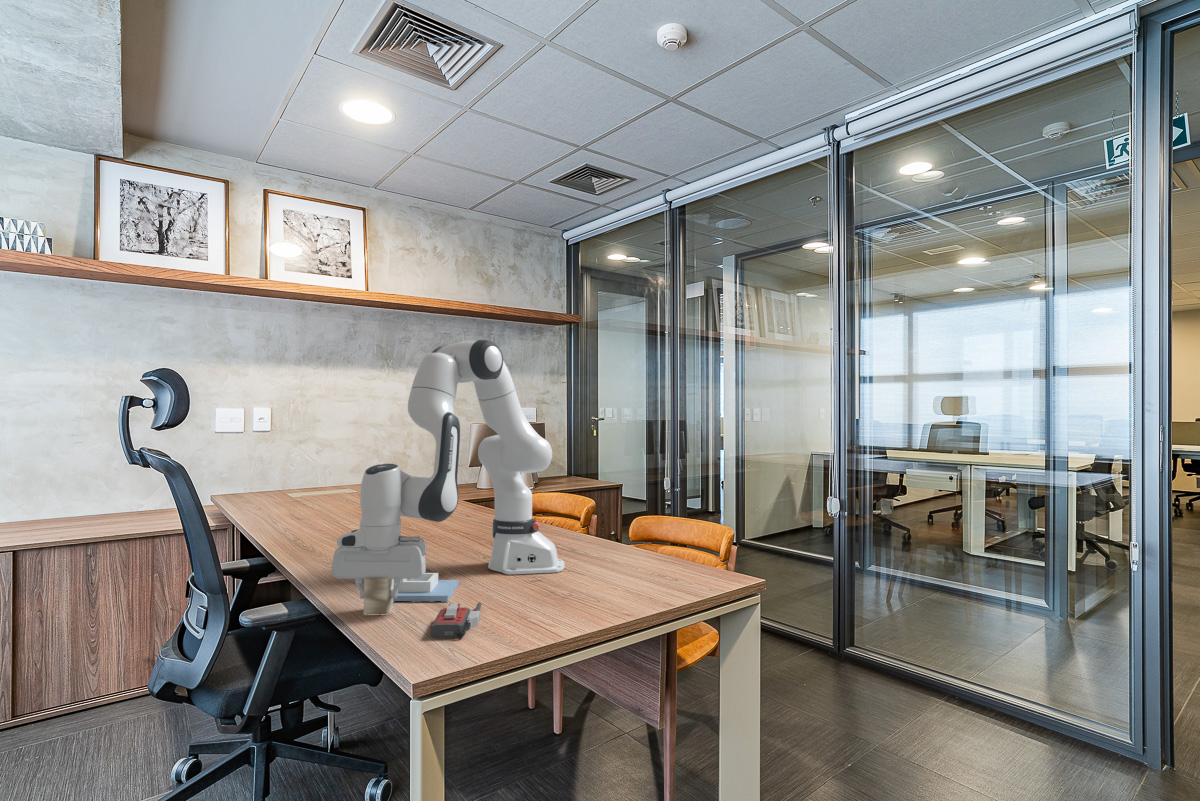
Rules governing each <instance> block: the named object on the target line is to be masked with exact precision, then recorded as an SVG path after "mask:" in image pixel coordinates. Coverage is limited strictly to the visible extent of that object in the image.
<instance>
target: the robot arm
mask: <svg viewBox="0 0 1200 801" xmlns="http://www.w3.org/2000/svg"><path fill="white" fill-rule="evenodd" d="M470 382H472V383H473V384H474V385H473V386H474V389H475V393H476V397H477V400H478V403H479V406H480V410H481V412H482V416H483V420H484V423H485V424H486V425H487V426H488V427H489V428H490V429H492V430H493V431H494V432H495V433H496V434H495V435H491V436H487V437H484V438H483V440H482V441H481V442H480V443H479V445H478V449H477V456H478V460H479V462H480V464H481V465H482V466H483V467H484V469H485V470H486V471H487V473H488V475H489V478H490V481H491V484H492V488H493V496H494V517H493V519H492V525H491V526H492V529H491V530H492V533H491V534H492V538H493V539H492V540H493V541H492V547H491V548H492V549H491V554H490V559H489V562H488V565H487V568H488V569H489V570H492V571H495V572H499V573H502V574H505V575H527V574H550V573H559V572H561V571H563V570H564V569H565V561H564V560H563V559H562V558H559V557H558V551H557V547H556V545H555V543H554V542H553V541H552V540H550V539H549V538H548V537H546V536H544V534H543V533H541V532H540V531H539V529H540V526H541V525H540V522H539V520H538V519H535V518H533V492H532V490H531V489H530V487H529V486H527V485H526V484H525V482H524V480H523V477H522V475H521V474H522V473H523V474H533V473H538V472H544V471H545V470H547V469H548V467H549V466H550V464H551V462H552V459H553V450H552V445H551V443H550V442H549V441H548V440H546V439H545V438H544V437H542V436H541V435H540V434H538V432H537V431H536V430H535V429H534V428H533V426H532V425H531V424H530V422H529V420H528V418H527V417H526V415H525V413H524V412H523V409H522V406H521V403H520V401H519V396H518V394H517V393H518V392H517V390H516V387H515V384H514V381H513V378H512V375H511V373H510V370H509V368H508V366H507V365H506V362H505V361H504V356H503V353H502V351H501V348H500V347H499V346H498V345H497V344H496V343H495V342H494V341H492V340H489V339H488V340H487V339H479V340H478V339H477V340H462V341H459V342H453V343H451V344H443V345H440V346H438V347H436V348H435V349H433V351H432V352H431V353H428V354H426V355H425V356H424V357H423V359H422V360H421V362H420V364H419V366H418V368H417V371H416V373H415V375H414V378H413V382H412V385H411V389H410V392H409V396H408V400H407V412H408V415H409V417H410V418H411V420H412V422H414V423H415V425H417V426H419V428H422V429H423V430H426V431H427V432H429V433H431V435H432V436H433V438H434V440H435V454H434V466H433V473H432V475H431V476H430V477H423V476H413V475H411V474H408V473H406V472H404V471H402V470H401V469H400V467H399V465H398V464H395V463H382V464H379V463H378V464H374V465H372V466H369V467H368V468H367V469H366V470H364V473H363V474H362V475H363V476H362V479H361V480H362V481H361V485H360V495H359V496H360V497H359V498H360V500H359V501H360V502H359V503H360V509H361V518H360V520H359V529H354V530H351V531H348V532H346V533H344V534H341V535H340V536H339V537H338V538H337V539H336V545H337V546H338V547H337V548H336V549H335V550H334V553H333V557H332V562H331V564H332V565H331V574H332V577H333V578H334V579H337V580H338V579H347V580H348V579H351V580H353V579H354V581H355V582H354V584H355V586H356V587H357V589H358V591H359V599H364V579H365V578H388V579H394V583H397V584H396V586H395V588H394V589H391V590H390V591H389V598H397V596H398V588H399V587H400V585H401V583H402V582H403V579H419V578H421V577H422V576H423V575H424V573H426V570H427V569H426V568H427V567H426V566H427V565H426V556H425V555H426V553H427V542H426V540H425V539H424V538H421V537H420V536H409V535H408V536H407V535H406V536H404V535H403V536H402V534H401V533H402V520H401V516H402V517H409V518H416V519H423V520H427V521H431V522H434V523H435V522H436V523H440V522H443V521H445V520H447V519H448V518H449V517H450V516H451V515H453V513H454V512H455V510H456V509H457V507H458V503H459V489H458V488H459V486H458V472H459V471H458V470H459V456H460V455H459V454H460V446H461V445H460V443H461V424H460V421H459V418H458V417H457V416H456V415H455V401H456V395H457V390H458V385H459V383H460V384H462V383H470Z"/></svg>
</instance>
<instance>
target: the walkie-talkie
mask: <svg viewBox="0 0 1200 801" xmlns="http://www.w3.org/2000/svg"><path fill="white" fill-rule="evenodd" d="M482 605H483V604H482V603H481V602H478V603H477V604H476V607H475V609H474V610H471V608H469V607H461V604H460V603H449V604H448V606H447V607H444V608H441V609H439V612H438V613H437V616H436V617H435V618H434V621H433V623H432V624H431V628H430V638H431V637H432V638H431V639H433V638H435V639H461V638H464V636H465V635H466V632H467V630H470V629H473V628H476V627H477V626H479V622H480V621H481V611H480V610H481V608H482Z"/></svg>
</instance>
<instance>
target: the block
mask: <svg viewBox="0 0 1200 801" xmlns="http://www.w3.org/2000/svg"><path fill="white" fill-rule="evenodd" d="M363 584H364V598H363V615H364V614H387V613H388V612H389V611H390V610H391V609H392V608H393V609H394V602H393V598H389V591H390V590H391V589H394V579H388V578H365V579H364V581H363ZM393 609H392V610H393ZM392 610H391V611H392ZM391 611H390V612H391ZM390 612H389V613H390ZM389 613H388V614H389ZM388 614H387V615H388Z"/></svg>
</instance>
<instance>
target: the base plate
mask: <svg viewBox="0 0 1200 801" xmlns="http://www.w3.org/2000/svg"><path fill="white" fill-rule="evenodd" d="M459 583H460V580H459V579H439V572H425V573H424V575H423V576H422V577H421V578H419V579H403V582H402V583H401V585H400V587H399V588H398V596H397V598H393V601H441V602H440V603H448V602H449V601H450V599H451V598H452V596H453V595H454V593H455V592H456V591H457V589H458V588H457V586H458V585H459V586H460V584H459ZM396 584H397V583H394V588H395V586H396ZM459 586H458V587H459ZM456 588H457V589H456ZM454 591H455V592H454ZM452 594H453V595H452ZM450 597H451V598H450ZM448 600H449V601H448Z"/></svg>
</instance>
